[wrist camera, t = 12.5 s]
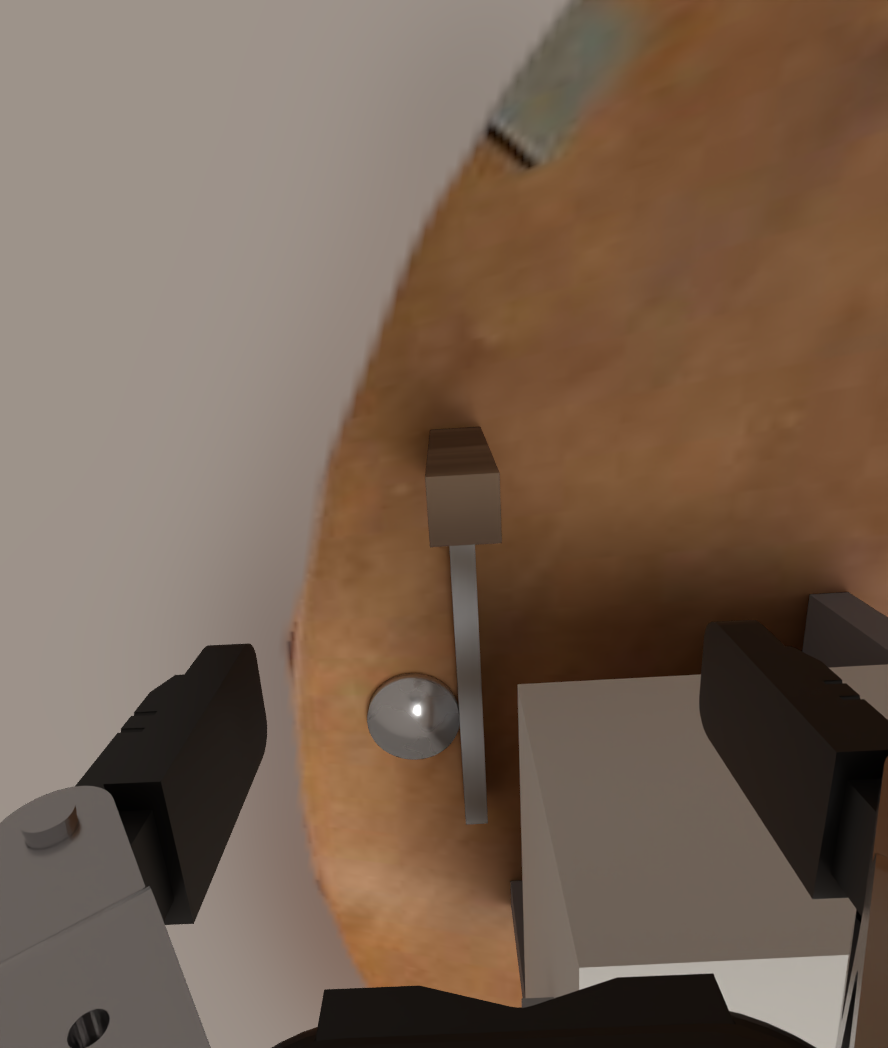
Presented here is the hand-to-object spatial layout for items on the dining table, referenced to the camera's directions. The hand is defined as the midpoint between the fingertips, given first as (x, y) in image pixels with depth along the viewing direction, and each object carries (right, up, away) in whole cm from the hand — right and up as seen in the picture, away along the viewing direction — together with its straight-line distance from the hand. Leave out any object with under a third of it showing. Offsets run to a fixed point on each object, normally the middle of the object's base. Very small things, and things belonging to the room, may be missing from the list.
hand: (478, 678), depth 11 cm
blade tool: (+1, -3, +22) cm, 22 cm away
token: (-2, -8, +23) cm, 25 cm away
